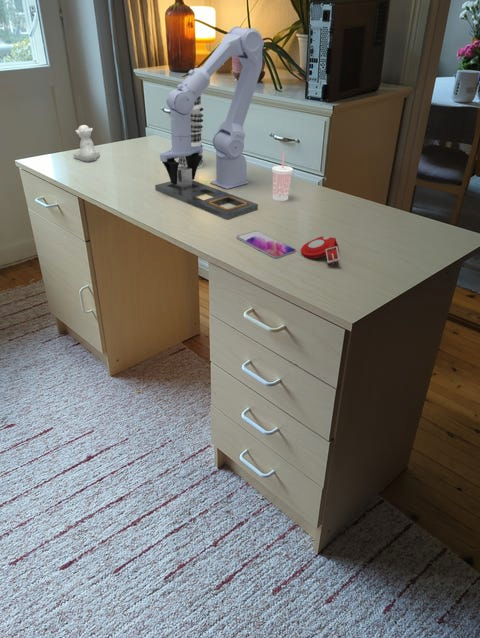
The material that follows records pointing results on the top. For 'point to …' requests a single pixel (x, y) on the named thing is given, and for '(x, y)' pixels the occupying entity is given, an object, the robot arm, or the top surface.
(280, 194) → the beverage cup
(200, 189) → the rail
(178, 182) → the block
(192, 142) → the decorative candle
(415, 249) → the top surface
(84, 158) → the white creature statuette
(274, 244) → the smartphone
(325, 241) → the tracker holder
